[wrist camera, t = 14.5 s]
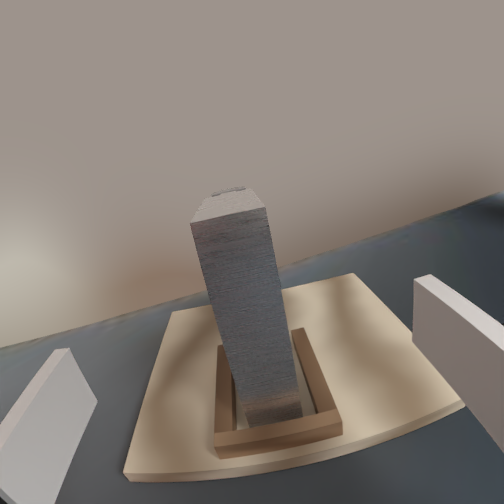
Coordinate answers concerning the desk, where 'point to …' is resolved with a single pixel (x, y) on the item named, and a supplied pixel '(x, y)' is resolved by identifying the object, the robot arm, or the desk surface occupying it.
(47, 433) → the robot arm
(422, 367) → the hinge base
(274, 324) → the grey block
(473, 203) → the desk surface
